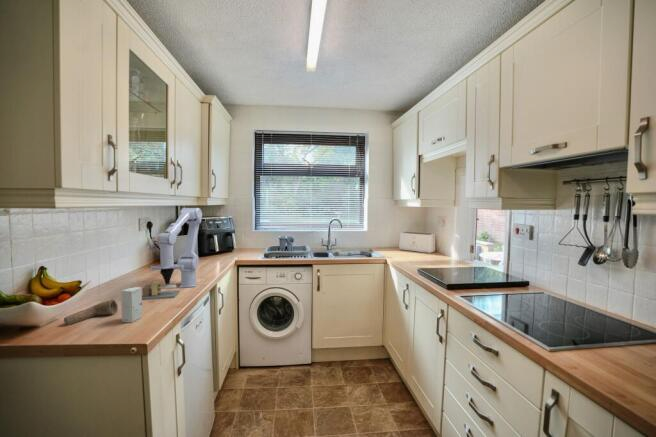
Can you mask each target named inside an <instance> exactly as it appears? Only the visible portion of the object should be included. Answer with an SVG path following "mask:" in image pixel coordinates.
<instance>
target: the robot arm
mask: <svg viewBox="0 0 656 437" xmlns="http://www.w3.org/2000/svg"><path fill="white" fill-rule="evenodd" d="M202 218H203V211H202V209H201V208H199V207H183V208H181V210H180V211H179V216H178V218H177V219H176V221H175V222H172V223H170V225H169V226H168V227H167V228H166V230H165V231H164V232H160V233H159V234H158V236H157V238H156V241H157V243H158V247H159V251H160V253H159V254H160V256H159V257H160V258H159V259H160V264H158V265H151V266H150V269H149V270H150V271H151V272H153V271H159V272H160V274H161V276H162V278H163V280H164V283H165V285H170V284H171V282H170V281H171V279H172V275H173V273H174V271H175V270H179V271H180V277H181V278H180V282H181V283H180V286H178V287H179V288H180V289H181V288H193V287H194V288H195V287H196V286H197V284H198V283H199V282H198V281H197V273H196V270H197V269H198V268H199V264H200V262H199V259H200V258H199V256H198V255H197V254H196V252H195V251H196V246H197V241H198V234H199V227H200V224H201V223H202ZM185 223H186V224H187V225H188V230H187V236H186V243H185V248H184V252H183V253H181V254H180V255H179V258H178V260H177V262H176V264H175V263H174V262H175V260H174V257H175V255H174V244H175V243H176V242H177V238H178V235H179V233H180V232H181V231H182V227H183V225H184V224H185Z"/></svg>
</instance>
